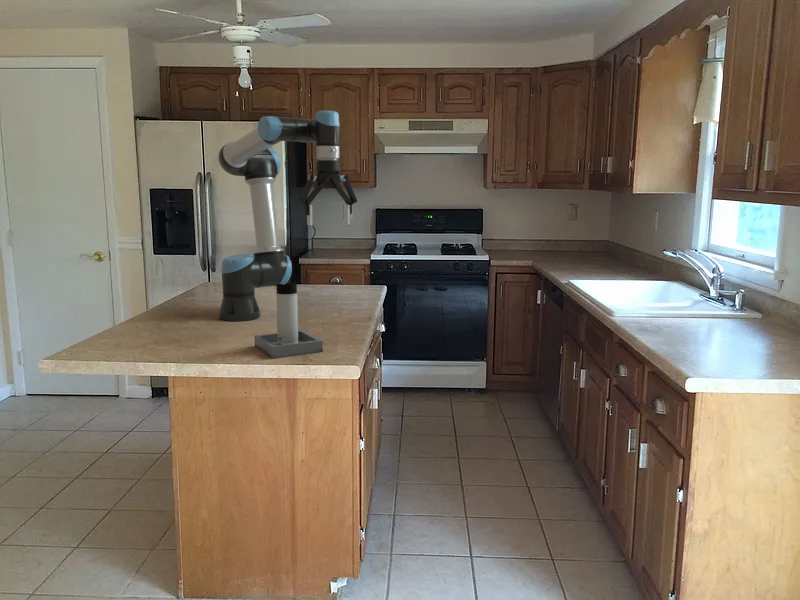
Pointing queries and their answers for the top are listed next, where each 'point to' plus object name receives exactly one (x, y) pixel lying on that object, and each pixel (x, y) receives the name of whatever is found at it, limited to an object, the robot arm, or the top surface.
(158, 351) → the top surface
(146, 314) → the top surface
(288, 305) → the travel mug
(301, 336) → the tray
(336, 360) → the top surface
